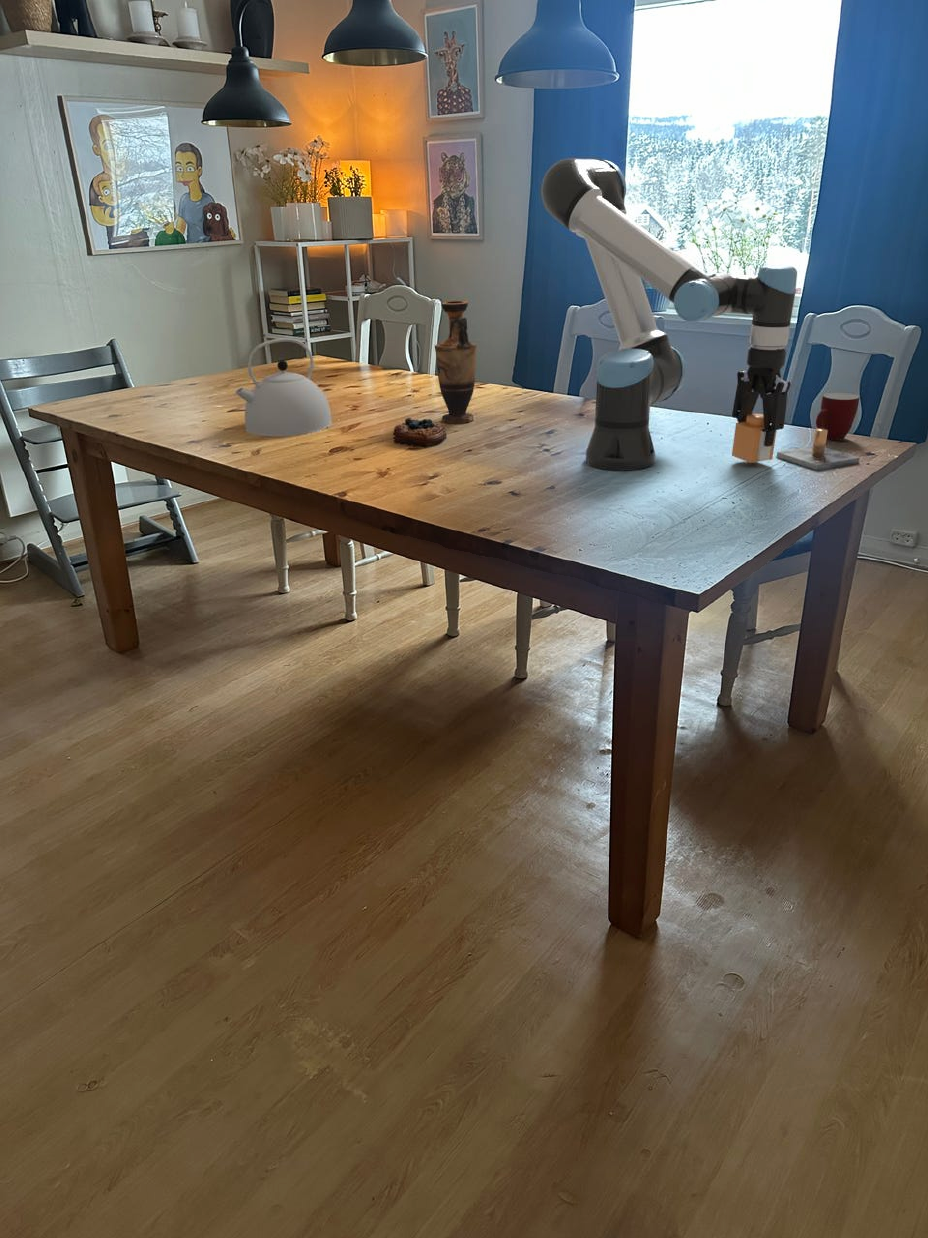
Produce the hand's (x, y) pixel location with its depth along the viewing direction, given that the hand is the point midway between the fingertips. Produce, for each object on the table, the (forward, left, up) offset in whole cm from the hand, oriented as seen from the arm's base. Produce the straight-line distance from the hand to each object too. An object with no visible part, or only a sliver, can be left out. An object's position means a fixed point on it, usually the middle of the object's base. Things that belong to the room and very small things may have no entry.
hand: (752, 455), depth 194 cm
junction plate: (+14, -5, -2) cm, 15 cm away
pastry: (-55, +55, -2) cm, 78 cm away
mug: (+30, +7, -2) cm, 31 cm away
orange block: (0, 0, 0) cm, 0 cm away
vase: (-39, +70, -2) cm, 80 cm away
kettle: (-81, +87, -2) cm, 119 cm away
